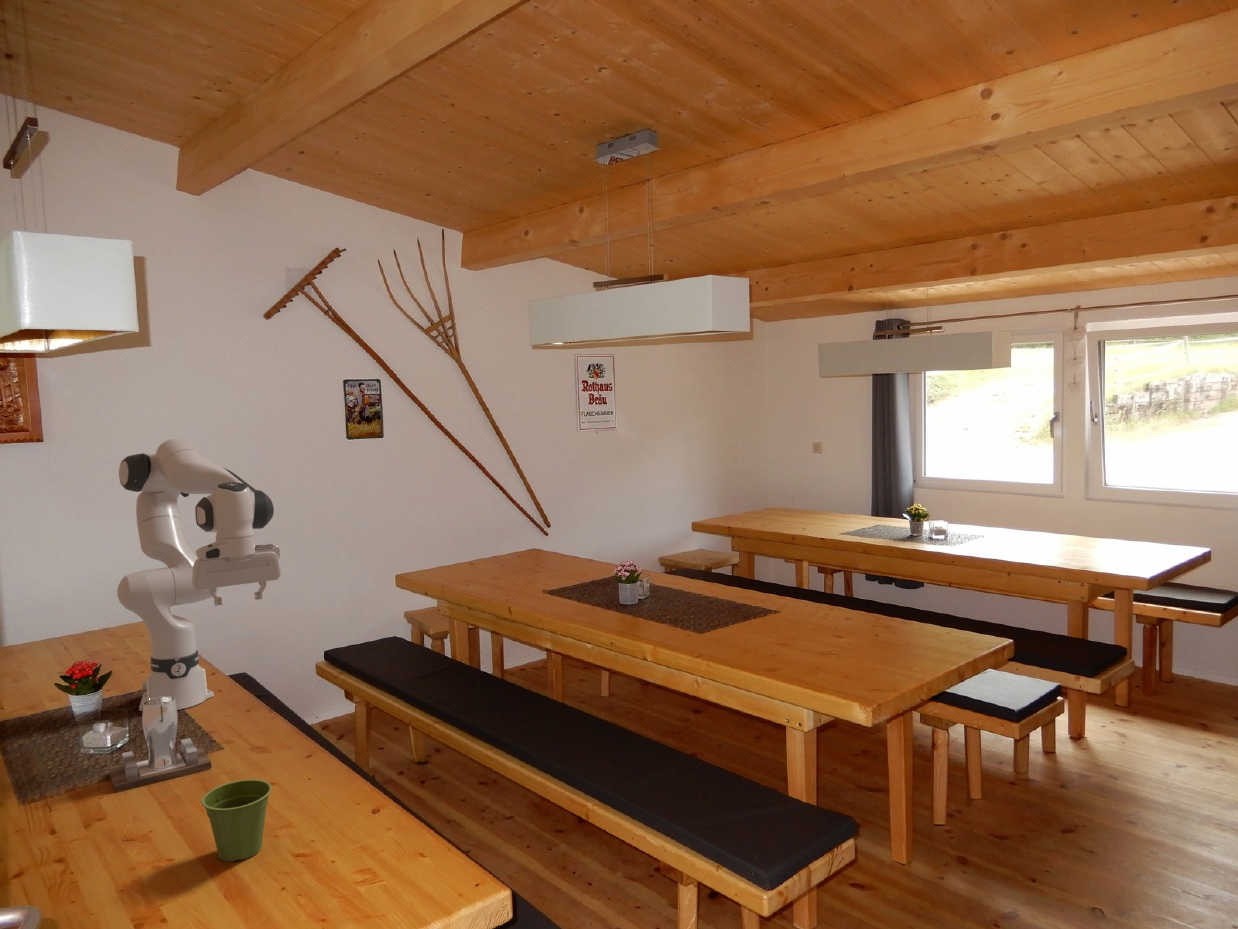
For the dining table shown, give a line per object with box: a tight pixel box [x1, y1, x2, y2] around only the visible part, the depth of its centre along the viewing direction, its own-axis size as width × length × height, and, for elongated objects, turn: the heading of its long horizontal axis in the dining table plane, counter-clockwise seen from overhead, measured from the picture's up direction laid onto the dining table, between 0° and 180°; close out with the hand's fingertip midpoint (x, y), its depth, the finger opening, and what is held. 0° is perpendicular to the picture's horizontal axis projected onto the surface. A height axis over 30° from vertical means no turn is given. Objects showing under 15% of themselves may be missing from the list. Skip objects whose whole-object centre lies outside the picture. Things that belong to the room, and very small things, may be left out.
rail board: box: [108, 737, 212, 793], centre depth 188 cm, size 12×19×4 cm, turn 126°
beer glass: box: [141, 696, 179, 771], centre depth 187 cm, size 7×7×15 cm
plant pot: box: [200, 778, 273, 863], centre depth 152 cm, size 12×12×11 cm
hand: (238, 602), depth 207 cm, fingers open, 8 cm apart
